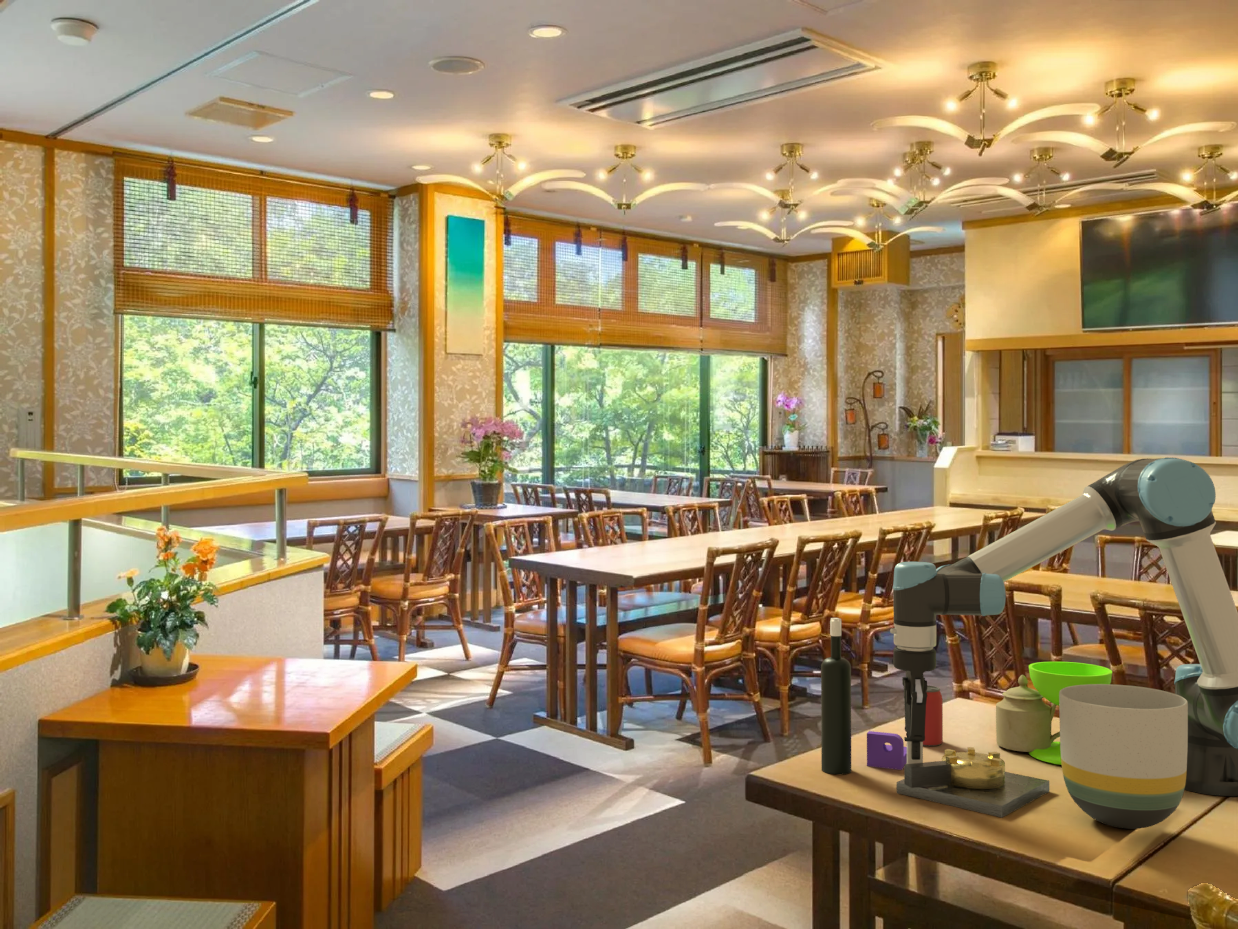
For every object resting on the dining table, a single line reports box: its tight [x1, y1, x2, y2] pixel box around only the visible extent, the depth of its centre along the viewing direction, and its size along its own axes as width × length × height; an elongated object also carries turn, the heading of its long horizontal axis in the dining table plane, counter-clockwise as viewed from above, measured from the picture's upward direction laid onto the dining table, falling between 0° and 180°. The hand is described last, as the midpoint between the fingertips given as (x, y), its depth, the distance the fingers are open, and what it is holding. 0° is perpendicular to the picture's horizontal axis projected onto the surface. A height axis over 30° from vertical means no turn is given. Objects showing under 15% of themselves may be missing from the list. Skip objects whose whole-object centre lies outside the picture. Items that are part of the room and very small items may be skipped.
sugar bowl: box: [995, 674, 1060, 753], centre depth 228 cm, size 15×11×15 cm
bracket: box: [866, 730, 907, 771], centre depth 219 cm, size 12×7×7 cm, turn 155°
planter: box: [1058, 683, 1188, 830], centre depth 181 cm, size 20×20×21 cm
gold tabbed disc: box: [903, 746, 1006, 789], centre depth 197 cm, size 19×11×5 cm, turn 106°
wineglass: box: [1028, 661, 1113, 766], centre depth 222 cm, size 16×16×18 cm
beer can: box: [923, 684, 944, 747], centre depth 232 cm, size 7×7×12 cm
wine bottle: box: [820, 617, 852, 775], centre depth 212 cm, size 6×6×30 cm
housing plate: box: [896, 771, 1050, 818], centre depth 198 cm, size 20×20×2 cm
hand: (914, 775), depth 197 cm, fingers closed
